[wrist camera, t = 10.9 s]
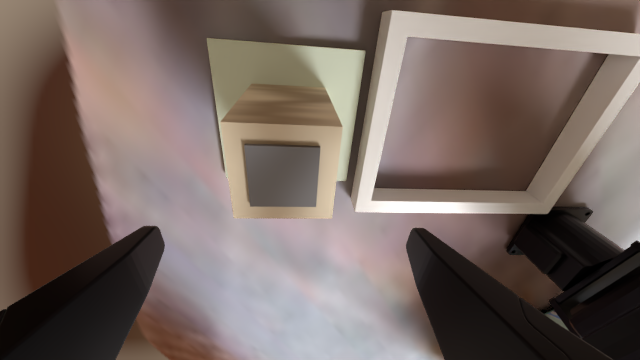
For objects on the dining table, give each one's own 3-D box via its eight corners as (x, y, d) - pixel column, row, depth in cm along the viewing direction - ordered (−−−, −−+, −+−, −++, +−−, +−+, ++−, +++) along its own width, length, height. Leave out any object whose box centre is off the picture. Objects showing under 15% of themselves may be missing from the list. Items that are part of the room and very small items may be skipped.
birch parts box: (325, 87, 17) (343, 128, 10) (320, 153, 20) (332, 221, 13) (251, 83, 17) (218, 123, 10) (256, 151, 19) (232, 220, 12)
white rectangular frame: (635, 36, 18) (671, 37, 16) (530, 201, 25) (547, 214, 23) (382, 11, 16) (392, 10, 14) (350, 198, 23) (355, 212, 21)
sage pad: (363, 50, 17) (365, 50, 16) (345, 178, 22) (346, 180, 21) (208, 38, 16) (206, 38, 15) (227, 175, 21) (226, 178, 20)
